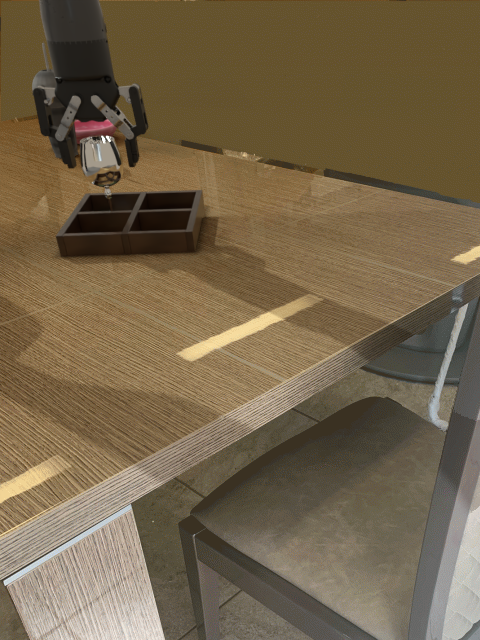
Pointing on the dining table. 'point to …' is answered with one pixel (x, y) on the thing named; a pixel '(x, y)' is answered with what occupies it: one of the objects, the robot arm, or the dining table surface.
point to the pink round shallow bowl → (93, 129)
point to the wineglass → (101, 163)
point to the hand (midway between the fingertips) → (103, 166)
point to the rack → (133, 224)
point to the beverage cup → (54, 105)
